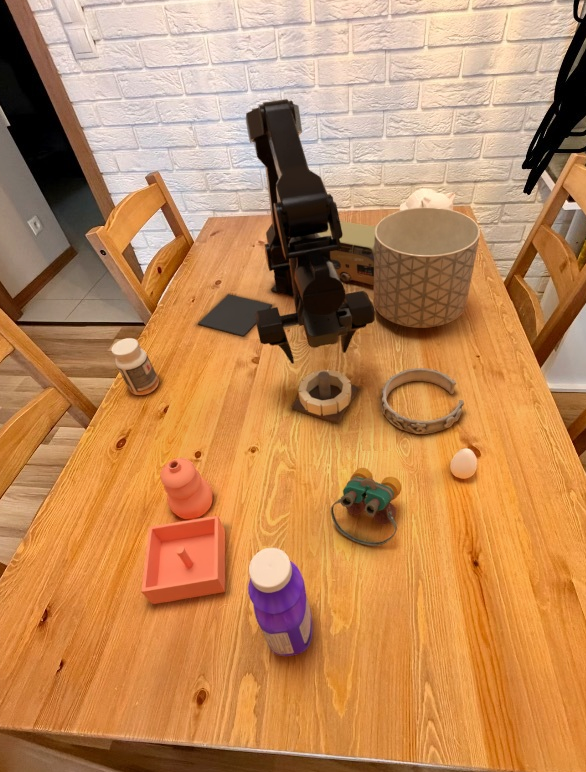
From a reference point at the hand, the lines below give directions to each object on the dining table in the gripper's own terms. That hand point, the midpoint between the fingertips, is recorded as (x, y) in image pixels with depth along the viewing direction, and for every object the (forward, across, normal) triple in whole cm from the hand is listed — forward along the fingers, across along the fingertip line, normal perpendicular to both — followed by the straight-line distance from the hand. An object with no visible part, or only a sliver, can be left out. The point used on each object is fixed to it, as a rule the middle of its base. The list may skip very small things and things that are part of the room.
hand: (318, 356), depth 80 cm
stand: (+7, 0, -4) cm, 8 cm away
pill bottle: (+7, -33, +10) cm, 35 cm away
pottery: (+7, -25, -25) cm, 36 cm away
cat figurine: (+7, +35, +40) cm, 53 cm away
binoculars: (+7, 0, -29) cm, 30 cm away
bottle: (+7, -13, -41) cm, 44 cm away
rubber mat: (+7, -13, +27) cm, 31 cm away
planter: (+7, +25, +16) cm, 30 cm away
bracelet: (+7, +16, -10) cm, 20 cm away
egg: (+7, +16, -25) cm, 31 cm away
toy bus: (+7, +14, +37) cm, 41 cm away
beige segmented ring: (+6, 0, -4) cm, 7 cm away
